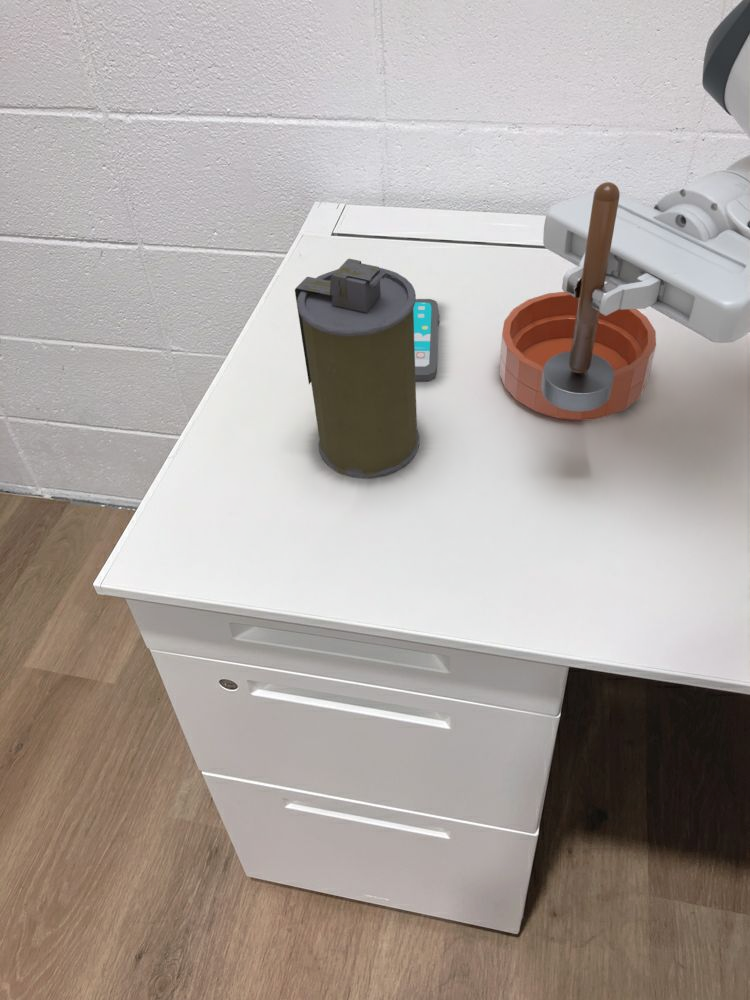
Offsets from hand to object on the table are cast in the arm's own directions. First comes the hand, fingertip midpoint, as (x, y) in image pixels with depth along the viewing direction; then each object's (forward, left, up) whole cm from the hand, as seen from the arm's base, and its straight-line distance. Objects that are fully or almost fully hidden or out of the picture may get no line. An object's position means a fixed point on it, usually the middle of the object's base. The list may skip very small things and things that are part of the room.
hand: (583, 295), depth 63 cm
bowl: (+4, -15, -20) cm, 26 cm away
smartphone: (+24, -13, -20) cm, 34 cm away
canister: (+19, +4, -20) cm, 28 cm away
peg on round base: (0, -1, -10) cm, 10 cm away
